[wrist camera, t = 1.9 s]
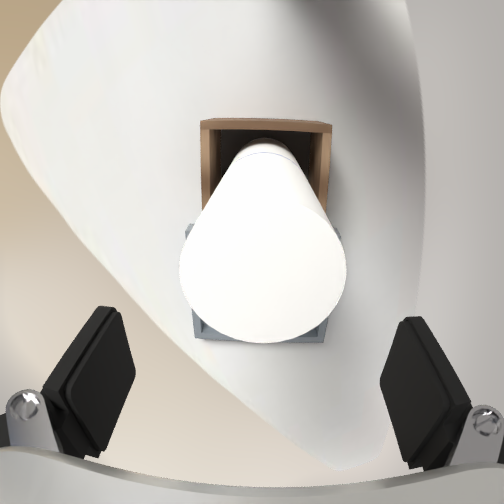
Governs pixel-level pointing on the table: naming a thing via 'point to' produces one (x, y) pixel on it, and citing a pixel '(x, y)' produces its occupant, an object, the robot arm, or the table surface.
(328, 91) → the table surface
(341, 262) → the cylindrical container
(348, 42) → the table surface
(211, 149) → the walnut box
